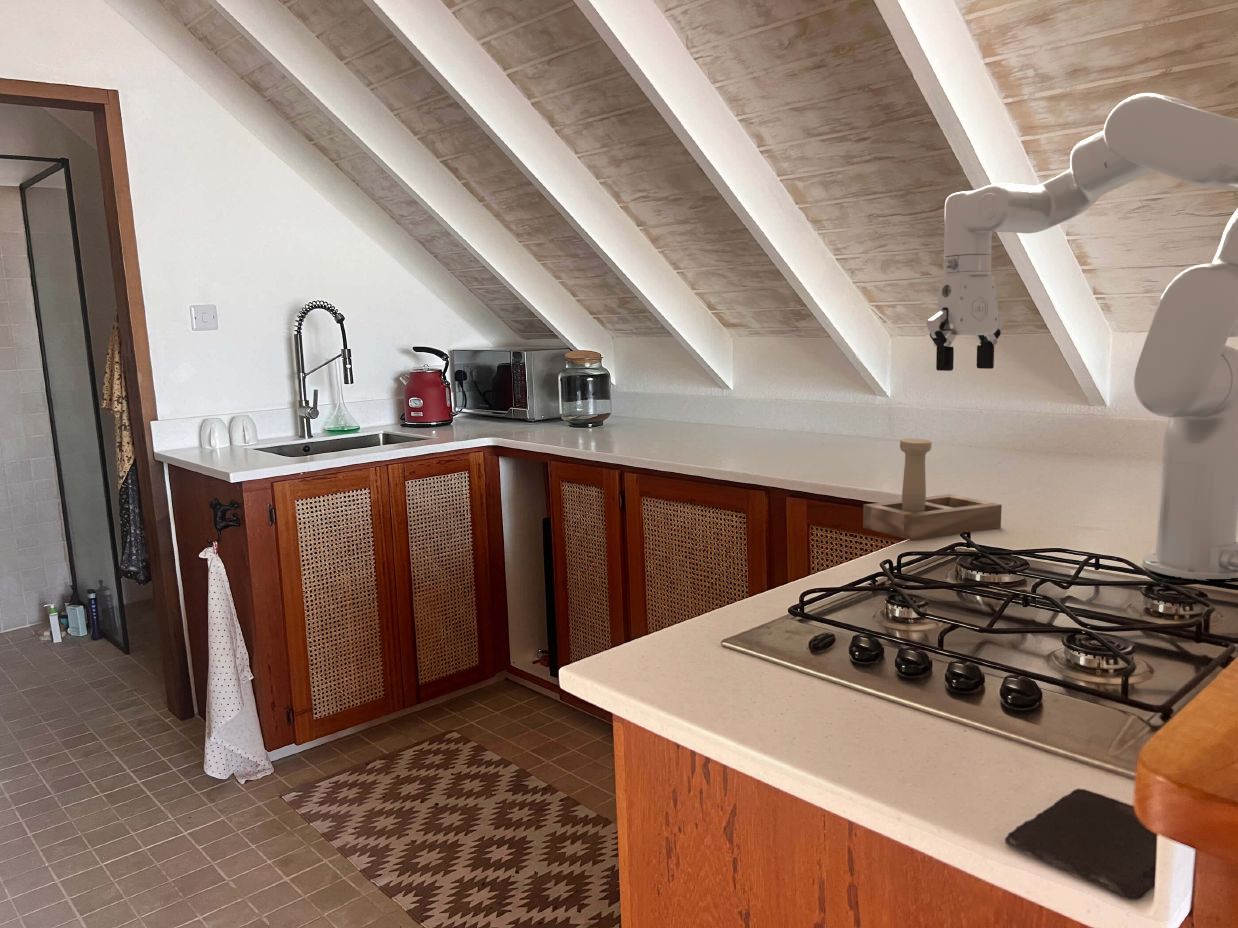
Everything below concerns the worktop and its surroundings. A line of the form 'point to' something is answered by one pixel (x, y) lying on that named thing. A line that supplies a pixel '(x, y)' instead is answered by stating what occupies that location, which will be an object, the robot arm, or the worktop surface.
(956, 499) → the grey rectangular tray
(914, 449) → the handle
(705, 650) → the worktop surface
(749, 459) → the worktop surface
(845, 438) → the worktop surface
